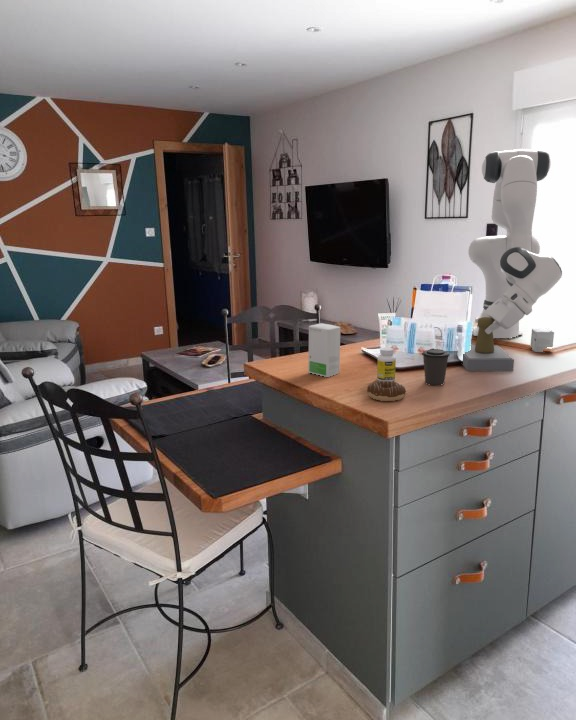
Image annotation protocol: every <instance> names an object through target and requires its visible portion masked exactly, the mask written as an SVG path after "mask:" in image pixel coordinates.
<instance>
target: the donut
mask: <svg viewBox="0 0 576 720" xmlns="http://www.w3.org/2000/svg"><path fill="white" fill-rule="evenodd" d="M366 392H367V395H368V396H369V397H370V398H371V399H372V398H373V399H372V400H375V399H376V401H377V400H382V401H381V402H383V401H393V402H396V401H395V400H398V401H400V400H402V399H403V398H404V397H405V396H406V392H407V390H406V387H405V386H404V385H402V384H400V383H399V382H396V381H392V382H390V381H378V380H377V381H373V382H372V383H370V384H369V385H368V386H367V389H366Z"/></svg>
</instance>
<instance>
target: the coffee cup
mask: <svg viewBox="0 0 576 720" xmlns="http://www.w3.org/2000/svg"><path fill="white" fill-rule="evenodd" d="M421 355H422V356H423V357H422V358H423V368H424V371H423V372H424V382H426V383H427V384H426V383H425V384H426V385H428V384H430V385H429V386H432V385H440V386H442V385H441V384H443V383H444V384H445V379H446V373H447V367H448V362H449V357H450V356H451V354H450V352H449V351H448V350H443V349H439V348H430V349H427V350H424V351H422V352H421ZM444 384H443V385H444Z"/></svg>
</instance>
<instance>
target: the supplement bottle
mask: <svg viewBox="0 0 576 720" xmlns="http://www.w3.org/2000/svg"><path fill="white" fill-rule="evenodd" d="M394 352H395V351H394V348H393V347H387V346H386V347H381V348H380V349H379V354H380V355H378V356H377V365H376V366H377V371H376V373H377V376H376V378H377V379H376V380H377V382H378V381H390V382H395V381H396V363H397V362H396V359H397V358H396V355H394Z"/></svg>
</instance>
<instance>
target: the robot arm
mask: <svg viewBox="0 0 576 720" xmlns="http://www.w3.org/2000/svg"><path fill="white" fill-rule="evenodd" d="M550 168H551V157H550V154H549V152H548V151H547V150H545V149H540V148H537V149H528V148H526V149H525V148H524V149H523V148H517V149H513V150H512V149H510V150H503V151H491V152H489V153H487V155H486V156H485V157H484V160H483V162H482V165H481V174H482V176H483V180H485V181H486V182H487V183H491V184H495V186H494V190H493V200H492V208H491V220H492V222H493V223H494V224H495V225H496V226H498V227H500V228H502V229H505V230H506V235H505V234H504V235H487V236H481V237H477V238H474V239H473V240H472V241H471V243H470V244H469V246H468V252H467V253H468V257H469V260H470V261H471V262H472V263H473V264H474V265H476V266H477V267H478V268H479V270H480V271H481V273H482V275H483V277H484V281H485V299H484V301H483V305H482V306H483V307H482V308H483V310H482V311H481V313H480V315H479V316H477V317H475V320H474V322H475V324H477V325H476V326H472V336H474V337H477V336H478V331H479V326H478V320H479V318H482V317H490V318H493V319H494V322H493V324H491V325H490V326H489V327H486V328H485V329H484V331H485V332H486V333H487V334H490V333H491V332H492V331H493V339H494V338H509V339H512V338H511V337H515V336H517V337H519V336H518V335H522V336H523V332H521V331H520V321H521V320H522V319H523V318H524V317H525V316H529V315H530V314H531V313H532V312H533V305H535V304H536V303H537V301H538V300H539V299H540V297H542V296H544V295H545V294H547V293H548V292H549V291H550V290H551V289H552V288H553V287H555V285H556V284H557V283H558V282H559V281H560V279H561V278H562V276H563V271H562V267H561V266H560V264H559V263H558V262H557V260H556V259H555V258H554V257H552V256H551V255H541V254H540V252H541V251H540V250H541V247H540V242H539V241H538V239H537V238H536V237H535V236H534V235H532V233H533V231H532V230H533V222H534V216H535V209H536V205H537V204H536V202H537V194H538V182H540V181H542V180H544V179H545V178H546V177H547V176H548V174H549V172H550ZM515 338H516V337H515Z"/></svg>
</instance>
